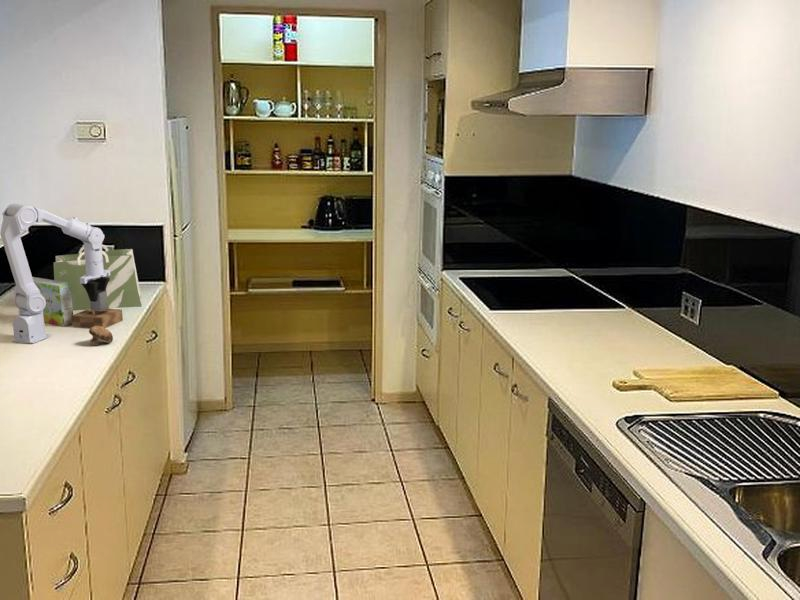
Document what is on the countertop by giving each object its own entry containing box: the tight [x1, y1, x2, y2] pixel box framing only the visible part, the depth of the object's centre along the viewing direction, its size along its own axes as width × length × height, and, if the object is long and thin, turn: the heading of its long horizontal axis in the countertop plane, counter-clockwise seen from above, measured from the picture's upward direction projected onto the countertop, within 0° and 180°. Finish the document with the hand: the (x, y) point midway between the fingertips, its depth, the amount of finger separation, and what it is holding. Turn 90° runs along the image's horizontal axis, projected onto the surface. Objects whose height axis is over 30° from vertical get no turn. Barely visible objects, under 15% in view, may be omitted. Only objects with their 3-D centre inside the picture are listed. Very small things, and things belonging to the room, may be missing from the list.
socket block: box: [71, 308, 124, 329], centre depth 289 cm, size 12×12×4 cm
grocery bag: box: [53, 244, 143, 311], centre depth 313 cm, size 32×14×23 cm, turn 106°
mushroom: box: [88, 326, 114, 346], centre depth 266 cm, size 8×8×6 cm
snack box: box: [32, 276, 74, 328], centre depth 291 cm, size 21×6×15 cm, turn 62°
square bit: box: [90, 290, 108, 311], centre depth 287 cm, size 4×4×6 cm
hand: (97, 299), depth 287 cm, fingers closed on square bit, 4 cm apart
